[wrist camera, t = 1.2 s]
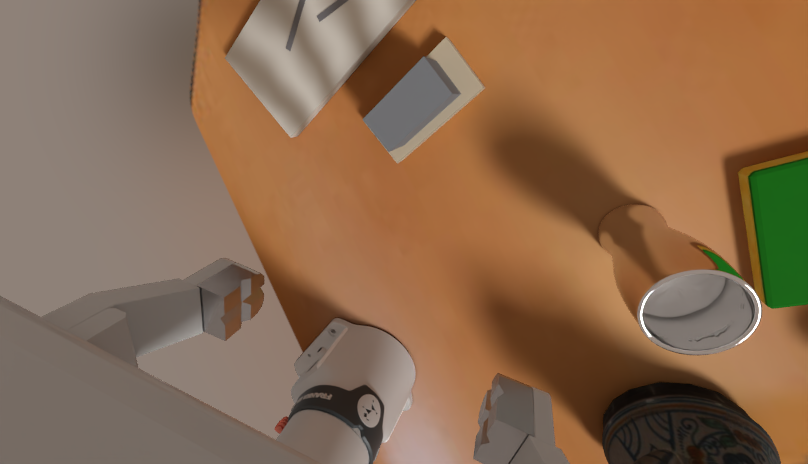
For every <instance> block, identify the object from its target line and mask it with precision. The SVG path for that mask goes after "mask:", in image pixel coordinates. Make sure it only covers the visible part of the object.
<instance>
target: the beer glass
mask: <svg viewBox="0 0 808 464" xmlns="http://www.w3.org/2000/svg"><path fill="white" fill-rule="evenodd" d="M598 239H599V242H600V244H601V246H602V247H603V248H604V250H605V251H606V252H607V253H609V254H610V255H611V256H612V261H613V271H614V277H615V281H616V285H617V288H618V290H619V292H620V295H621V297H622V299H623V301H624V303H625V304H626V306H627V308H628V310H629V311H630V313H631V314H632V316H633V317H634V319H635V320H636V321H637V323H638V324H639V326H640V328H641V330H642V331H643V333H644V334H645V335H646V336H647V338H649V339H650V340H651V341H652V342H653V343H655V344H656V345H658V346H660V347H662V348H664V349H666V350H669V351H672V352H676V353H680V354H687V355H707V354H714V353H718V352H722V351H725V350H728V349H730V348H733V347H735V346H737V345H738V344H740V343H742V342H743V341H745V340H746V339H747V338H748V337H749V336H750V335H751V334H752V333H753V332H754V331H755V330H756V328H757V326H758V325H759V322H760V320H761V316H762V304H761V301H760V298H759V296H758V294H757V293H756V291H755V290H754V289H753V288H752V287H751V286H750V285H749V284H748V283H747V282H746V281H745V280H744V279H743V278H742V277H741V276H740V275H739V274H738V273H737V272H736V270H735V269H734V268H733V267H732V266H731V265H730V264H729V263H728V262H727V261H725V260H724V259H723V258H722V257H721V256H720V255H719V254H718V253H716V252H715V251H714V250H712V249H711V248H710V247H708V246H707V245H705V244H704V243H702V242H701V241H699V240H697V239H695V238H693V237H691V236H689V235H687V234H685V233H682V232H680V231H678V230H675V229H673V228H670V227H668V225H667V222H666V220H665V219H664V217H663V216H662V215H661V214H660V213H659V212H658V211H657V210H656V209H654V208H652V207H650V206H646V205H642V204H629V205H624V206H621V207H618V208H616V209H614V210H612V211H611V212H610V213H608V214H607V215H606V216H605V217H604V219H603V220H602V222H601V223H600V226H599V229H598Z"/></svg>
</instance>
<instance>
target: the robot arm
mask: <svg viewBox="0 0 808 464" xmlns="http://www.w3.org/2000/svg"><path fill="white" fill-rule="evenodd" d="M262 285H264V276H263V275H262V274H261V273H259V272H257V271H255V270H252V269H250V268H248V267H246V266H243V265H241V264H239V263H236V262H234V261H232V260H229V259H227V258H221V259H219V260H217V261H215V262H214V263H212V264H210V265H208V266H207V267H205V268H203V269H201V270H200V271H198V272H196V273H194V274H193V275H191V276H189V277H187V278H186V279H184V280H181V279H173V280H167V281H161V282H155V283H149V284H143V285H138V286H131V287H126V288H120V289H114V290H108V291H102V292H96V293H90V294H88V295H86V296H84V297H81V298H79V299H78V300H75V301H73V302H71V303H69V304H67V305H65V306H63V307H61V308H59V309H57V310H55V311H52V312H51V313H48V314H46V315H44V316H42V317H40V316H38V315H36V314H34V313H32V312H30V311H28V310H26V309H24V308H22V307H21V306H19V305H17V304H15V303H13V302H11V301H9V300H7V299H5V298H3V297H1V296H0V464H373V462H374V461H375V459H376V457H377V455H378V452H379V448H380V445H381V443H383V442H387V441H388V439H389V438H390V436H391V434H392V432H393V430H394V428H395V426H396V424H397V422H398V420H399V417H400V415H401V413H402V411H406V410H409V409H410V407H411V405H412V394H411V390H412V387H413V384H414V381H415V366H414V363H413V361H412V358H411V356H410V355H409V353H408V352H407V350H406V349H405V348H404V347H403V345H402V344H401V343H400V342H398V341H397V340H396V339H395V338H394V337H392V336H391V335H389V334H387V333H386V332H384V331H382V330H379V329H377V328H373V327H369V326H362V325H355V324H352V323H350V322H347V321H345V320H343V319H340V318H335V319H333V320H332V321H331V322H330V323H329V324H328V326H327V327H326V328H325V329H324V330H323V331H322V332H321V333H320V334H319V336H318V337H317V338H316V339H315V340H314V341H313V342H312V343H311V345H310V346H309V347H308V348H307V349H306V350H305V351H304V352H303V353H302V355H301V356H300V357H299V358H298V359H297V361H296V362H295V364H294V366H295V370H296V372H297V374H298V376H299V379H298V380H297V382H296V383H295V384H294V386H293V387H292V389H291V395H292V399H293V401H294V403H295V404H294V406H293V408H292V410H291V413H290V415H289V418H288V417H284V418H283V419H282V420H281V421H279V423H278V424H277V425H276V427H275V430H276V431H277V432H278V433H279V436H278V437H277V439H276V440H275V439H273V438H271V437H269V436H267V435H265V434H263V433H262V432H260V431H257V430H256V429H254V428H252V427H250V426H248V425H246V424H244V423H242V422H240V421H238V420H237V419H235V418H233V417H231V416H229V415H227V414H225V413H223V412H221V411H219V410H217V409H215V408H214V407H212V406H210V405H208V404H206V403H204V402H202V401H200V400H198V399H196V398H194V397H192V396H191V395H189V394H187V393H185V392H183V391H181V390H179V389H177V388H175V387H173V386H172V385H169V384H168V383H166V382H164V381H162V380H160V379H158V378H156V377H154V376H152V375H150V374H149V373H146V372H145V371H143V370H141V369H139V368H138V364H137V360H136V357H139V356H142V355H144V354H147V353H150V352H152V351H155V350H158V349H161V348H163V347H166V346H169V345H171V344H174V343H177V342H179V341H182V340H185V339H188V338H190V337H193V336H196V335H198V334H201V333H203V331H204V332H206V333H208V334H211V335H213V336H215V337H218V338H220V339H222V340H224V341H226V340H227V339H228V338H230V337H231V336H232V335H233V334H234V333H235V332H236V331H238V330H239V329H240V328H241V324H242V322H243V321H246V320H250V319H251V318H253V317H254V316H255V315H256V314H257V313H258V311H259V310H260V308H261V307H262V304H263V300H264V293H263V291H262V290H261V288H260V287H261V286H262ZM478 423H479V426H480V430H479V432H478V434H477V436H476V441H475V449H474V457H473V459H475V460H477V461H479V462H481V463H483V464H570V463H569V462H568V460H567V458H566V457H565V455H564V454H563V452H562V450H561V449H559V448H557V447H555V437H554V426H553V415H552V404H551V396H550V395H549V393H546V392H544V391H542V390H539V389H537V388H534V387H531V386H529V385H526V384H524V383H522V382H519V381H517V380H514V379H512V378H509V377H507V376H505V375H502V374H500V373H497V374H496V375H495V377H494V379H493V381H492V389H491V390H488V391H487V393H486V395H485V397H484V399H483V402H482V405H481V409H480V413H479V419H478Z"/></svg>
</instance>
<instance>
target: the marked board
mask: <svg viewBox="0 0 808 464" xmlns="http://www.w3.org/2000/svg"><path fill="white" fill-rule="evenodd" d="M415 1H416V0H260V2H259V3H258V5H257V6H256V8H255V10H254V11H253V13H252V15H251V16H250V18H249V19H248V21H247V23H246V24H245V26H244V28H243V29H242V31H241V33H240V34H239V36H238V37H237V39H236V41H235V42H234V44H233V46H232V47H231V49H230V50H229V52H228V54H227V55H226V57H225V59H226V60H227V61H228V62H229V64H230V65H231V66H232V67H233V68H234V70H235V71H236V72H237V73H238V75H239V76H240V77H241V78H242V79H243V81H244V82H245V83H246V84H247V85H248V87H249V88H250V89H251V90H252V91H253V93H254V94H255V95H256V96H257V98H258V99H259V100H260V101H261V102H262V104H263V105H264V106H265V107H266V108H267V110H268V111H269V112H270V113H271V114H272V116H273V117H274V118H275V119H276V121H277V122H278V123H279V124H280V125H281V127H282V128H283V129H284V130H285V131H286V133H287V134H288V135H289V136H290V137H291V138H292V137H297V136H298V135H299V134H300V133H301V132H302V131H303V130H304V129H305V127H306V126H307V125H308V124H309V123H310V122H311V120H312V119H313V118H314V117H315V116H316V115H317V114H318V112H319V111H320V110H321V109H322V108H323V107H324V106H325V104H326V103H327V102H328V101H329V100H330V99H331V97H332V96H333V95H334V94H335V93H336V92H337V91H338V89H339V88H340V87H341V86H342V85H343V84H344V83H345V81H346V80H347V79H348V78H349V77H350V76H351V74H352V73H353V72H354V71H355V70H356V69H357V68H358V66H359V65H360V64H361V63H362V62H363V61H364V60H365V58H366V57H367V56H368V55H369V54H370V53H371V51H372V50H373V49H374V48H375V47H376V46H377V45H378V43H379V42H380V41H381V40H382V39H383V38H384V37H385V35H386V34H387V33H388V32H389V31H390V30H391V29H392V27H393V26H394V25H395V24H396V23H397V22H398V20H399V19H400V18H401V17H402V16H403V15H404V14H405V12H406V11H407V10H408V9H409V8H410V7H411V6H412V4H413V3H414V2H415Z"/></svg>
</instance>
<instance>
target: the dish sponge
mask: <svg viewBox="0 0 808 464" xmlns="http://www.w3.org/2000/svg"><path fill="white" fill-rule="evenodd" d="M738 177H739V184H740V191H741V198H742V205H743V212H744V219H745V226H746V233H747V239H748V246H749V253H750V260H751V267H752V274H753V281H754V288H755V291H756V293H757V294H758V296H759V298H760V300H761V301H762V302H763V303H765V304H766V305H767V306H768V307H770V308H772V309H773V308H782V307H790V306H798V305H807V304H808V151H806V152H802V153H798V154H794V155H791V156H787V157H783V158H779V159H775V160H771V161H767V162H763V163H760V164H756V165H752V166H748V167H744V168H742V169H741V170H740V171H739V172H738Z"/></svg>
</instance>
